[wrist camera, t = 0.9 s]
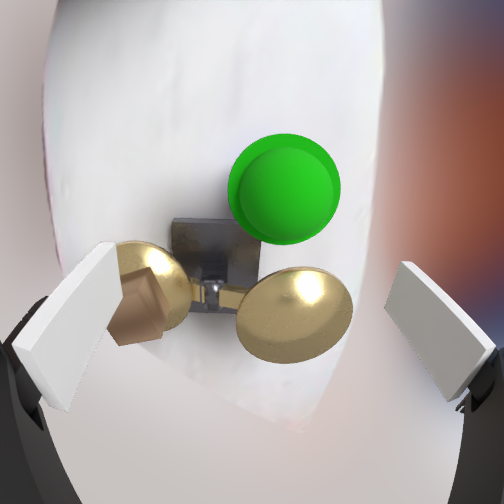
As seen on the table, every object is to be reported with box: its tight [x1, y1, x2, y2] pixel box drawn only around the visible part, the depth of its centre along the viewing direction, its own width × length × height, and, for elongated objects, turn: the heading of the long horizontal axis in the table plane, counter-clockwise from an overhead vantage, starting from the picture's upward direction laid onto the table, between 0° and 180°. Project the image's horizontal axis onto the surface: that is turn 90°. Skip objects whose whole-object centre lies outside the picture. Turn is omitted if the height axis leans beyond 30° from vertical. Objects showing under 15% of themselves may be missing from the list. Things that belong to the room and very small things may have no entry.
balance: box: [116, 218, 353, 364], centre depth 28 cm, size 12×26×11 cm, turn 86°
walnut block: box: [107, 266, 171, 346], centre depth 24 cm, size 5×5×5 cm
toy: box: [228, 134, 341, 245], centre depth 22 cm, size 8×8×15 cm
